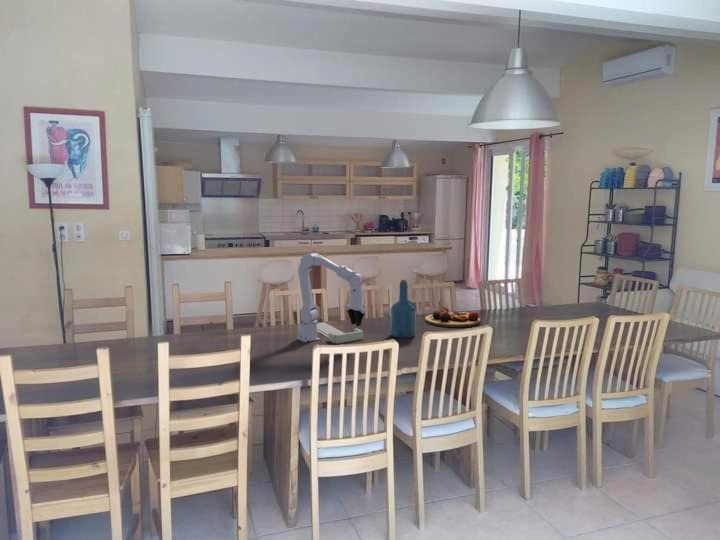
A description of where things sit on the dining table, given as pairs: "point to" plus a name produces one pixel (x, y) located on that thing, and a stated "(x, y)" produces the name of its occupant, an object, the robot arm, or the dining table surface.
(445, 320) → the wooden plate with food
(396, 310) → the wine bottle
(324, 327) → the baseboard molding
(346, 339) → the end cap
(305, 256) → the robot arm
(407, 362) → the dining table surface
